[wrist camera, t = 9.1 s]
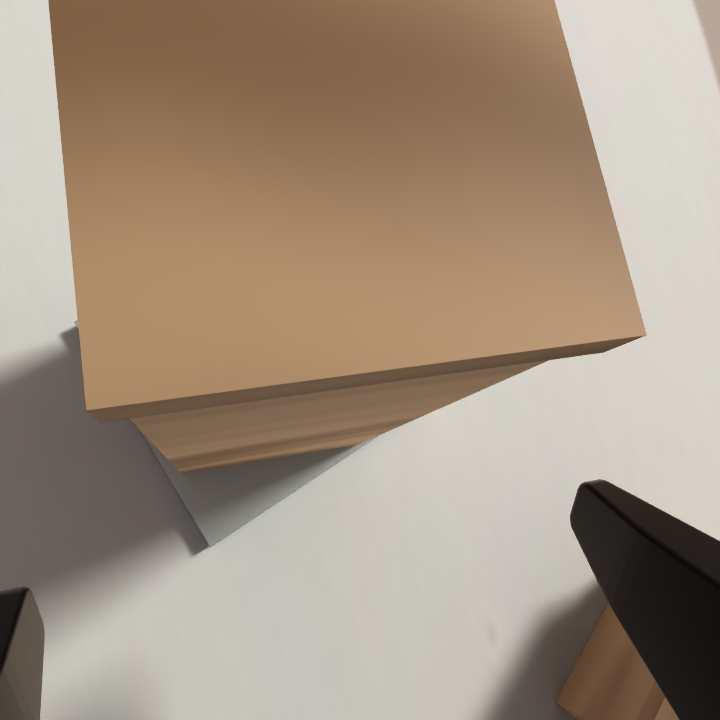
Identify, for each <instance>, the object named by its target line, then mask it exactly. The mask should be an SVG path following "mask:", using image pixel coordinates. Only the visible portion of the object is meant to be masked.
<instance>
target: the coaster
mask: <svg viewBox="0 0 720 720" xmlns="http://www.w3.org/2000/svg"><path fill="white" fill-rule="evenodd" d="M74 323H75V324H76V326H77V328H78V329H79V327H78V320H77V321H75V322H74ZM140 432H141V431H140ZM141 433H142V432H141ZM142 435H143V437H144V438H145V440H146V442H147V443H148V445H149V447H150V448H151V450H152V452H153V453H154V455H155V457H156V458H157V460H158V461H159V463H160V465H161V466H162V468H163V470H164V471H165V473H166V475H167V476H168V478H169V480H170V481H171V483H172V485H173V486H174V488H175V490H176V491H177V493H178V495H179V496H180V498H181V499H182V501H183V503H184V504H185V506H186V508H187V509H188V511H189V513H190V514H191V516H192V518H193V519H194V521H195V523H196V524H197V526H198V528H199V529H200V531H201V533H202V534H203V536H204V538H205V539H206V541H207V542H208V544H209V546H210V547H212V546H213V545H215V544H216V543H218V542H219V541H221V540H222V539H224V538H225V537H227V536H228V535H230V534H231V533H233V532H234V531H236V530H237V529H239V528H240V527H242V526H243V525H245V524H246V523H248V522H249V521H251V520H252V519H254V518H255V517H257V516H258V515H260V514H261V513H263V512H264V511H266V510H267V509H269V508H270V507H272V506H273V505H275V504H276V503H278V502H280V501H281V500H283V499H284V498H286V497H287V496H289V495H290V494H292V493H293V492H295V491H296V490H298V489H299V488H301V487H302V486H304V485H305V484H307V483H308V482H310V481H311V480H313V479H314V478H316V477H317V476H319V475H320V474H322V473H323V472H325V471H326V470H328V469H329V468H331V467H332V466H334V465H335V464H337V463H338V462H340V461H341V460H343V459H344V458H346V457H347V456H349V455H350V454H352V453H353V452H355V451H356V450H358V449H359V448H361V447H362V446H364V445H365V444H367V443H368V442H370V441H371V440H373V439H374V438H376V437H377V436H376V437H374V438H371V439H369V440H367V441H365V442H362V443H360V444H358V445H353V446H347V447H341V448H335V449H329V450H323V451H317V452H311V453H304V454H298V455H292V456H286V457H280V458H274V459H268V460H262V461H256V462H250V463H244V464H238V465H232V466H226V467H220V468H214V469H208V470H202V471H195V472H189V473H183V474H181V473H180V472H179V471H178V469H177V468H176V467H175V466H174V465H173V464H172V463H171V462H170V461H169V460H168V459H167V458H166V457H165V456H164V455H163V454H162V453H161V452H160V451H159V450H158V448H157V447H156V446H155V445H154V444H153V443H152V442H151V441H150V440H149V439H148V438H147V437H146V436H145V435H144V434H143V433H142ZM378 436H379V435H378Z"/></svg>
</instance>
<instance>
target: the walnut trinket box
mask: <svg viewBox="0 0 720 720" xmlns="http://www.w3.org/2000/svg"><path fill="white" fill-rule="evenodd" d="M556 703H557V704H558V705H559V706H561V707H562V708H563V709H564V710H566V711H567V712H568V713H569V714H571V715H572V716H573V717H574V718H576V719H577V720H679V719H678V717H677V716H676V714H675V712H674V711H673V709H672V707H671V706H670V704H669V702H668V701H667V699H666V697H665V696H664V694H663V693H662V691H661V689H660V688H659V686H658V684H657V683H656V681H655V679H654V678H653V676H652V675H651V673H650V671H649V670H648V668H647V666H646V665H645V663H644V661H643V660H642V658H641V657H640V655H639V653H638V652H637V650H636V648H635V647H634V645H633V643H632V642H631V640H630V638H629V637H628V635H627V634H626V632H625V630H624V629H623V627H622V625H621V624H620V622H619V620H618V619H617V617H616V615H615V614H614V612H613V610H612V608H611V607H610V605H609V603H607V605H606V607H605V609H604V611H603V613H602V615H601V617H600V619H599V620H598V622H597V624H596V626H595V628H594V630H593V632H592V634H591V636H590V637H589V639H588V641H587V643H586V645H585V647H584V649H583V651H582V653H581V654H580V656H579V658H578V660H577V662H576V664H575V666H574V668H573V669H572V671H571V673H570V675H569V677H568V679H567V681H566V683H565V685H564V686H563V688H562V690H561V692H560V694H559V696H558V698H557V700H556Z"/></svg>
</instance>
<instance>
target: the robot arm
mask: <svg viewBox="0 0 720 720" xmlns="http://www.w3.org/2000/svg"><path fill="white" fill-rule="evenodd" d="M570 522H571V526H572V529H573V532H574V534H575V536H576V538H577V540H578V542H579V544H580V546H581V548H582V550H583V552H584V554H585V556H586V558H587V561H588V563H589V565H590V567H591V569H592V571H593V573H594V575H595V577H596V579H597V581H598V583H599V585H600V587H601V589H602V592H603V594H604V595H605V597H606V599H607V601H608V603H609V605H610V607H611V608H612V610H613V612H614V614H615V615H616V617H617V619H618V620H619V622H620V624H621V625H622V627H623V629H624V630H625V632H626V634H627V635H628V637H629V638H630V640H631V642H632V643H633V645H634V647H635V648H636V650H637V652H638V653H639V655H640V657H641V658H642V660H643V661H644V663H645V665H646V666H647V668H648V670H649V671H650V673H651V675H652V676H653V678H654V679H655V681H656V683H657V684H658V686H659V688H660V689H661V691H662V693H663V694H664V696H665V697H666V699H667V701H668V702H669V704H670V706H671V707H672V709H673V711H674V712H675V714H676V716H677V717H678V719H679V720H720V541H718V540H717V539H715V538H713V537H711V536H709V535H707V534H705V533H703V532H702V531H700V530H698V529H696V528H694V527H692V526H690V525H688V524H687V523H685V522H683V521H681V520H679V519H677V518H675V517H673V516H671V515H670V514H668V513H666V512H664V511H662V510H660V509H658V508H656V507H655V506H653V505H651V504H649V503H647V502H645V501H643V500H641V499H640V498H638V497H636V496H634V495H632V494H630V493H628V492H626V491H624V490H623V489H621V488H619V487H617V486H615V485H613V484H611V483H609V482H607V481H605V480H594V481H588V482H584V483H582V484H581V485H580V486H579V488H578V490H577V494H576V497H575V500H574V504H573V507H572V510H571V514H570ZM43 655H44V625H43V621H42V618H41V616H40V613H39V610H38V607H37V604H36V602H35V599H34V596H33V593H32V591H31V590H30V589H29V588H27V587H21V588H15V589H10V590H5V591H0V720H40V707H41V689H42V672H43Z"/></svg>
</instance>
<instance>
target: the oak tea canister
mask: <svg viewBox="0 0 720 720" xmlns="http://www.w3.org/2000/svg"><path fill="white" fill-rule="evenodd" d="M49 11H50V22H51V33H52V44H53V55H54V66H55V77H56V87H57V98H58V109H59V120H60V131H61V142H62V153H63V164H64V175H65V186H66V196H67V207H68V218H69V229H70V240H71V251H72V262H73V273H74V284H75V295H76V306H77V316H78V327H79V338H80V349H81V360H82V371H83V382H84V393H85V404H86V411H88V412H89V413H90V414H92V415H93V416H94V417H95V418H97V419H98V420H99V421H101V422H109V421H117V420H124V419H130V420H131V421H132V422H133V423H134V424H135V425H136V426H137V427H138V429H139V430H140V431H141V432H142V433H143V434H144V435H145V436H146V437H147V438H148V439H149V440H150V441H151V442H152V443H153V444H154V445H155V446H156V447H157V448H158V450H159V451H160V452H161V453H162V454H163V455H164V456H165V457H166V458H167V459H168V460H169V461H170V462H171V463H172V464H173V465H174V466H175V467H176V468H177V469H178V471H179V472H180V473H181V474H183V473H189V472H195V471H202V470H208V469H214V468H220V467H226V466H232V465H238V464H244V463H250V462H256V461H262V460H268V459H274V458H280V457H286V456H292V455H298V454H304V453H311V452H317V451H323V450H329V449H335V448H341V447H347V446H353V445H358V444H360V443H362V442H365V441H367V440H369V439H371V438H374V437H376V436H378V435H380V434H383V433H385V432H387V431H390V430H392V429H394V428H396V427H399V426H401V425H403V424H405V423H408V422H410V421H412V420H414V419H417V418H419V417H421V416H424V415H426V414H428V413H430V412H433V411H435V410H437V409H439V408H442V407H444V406H446V405H449V404H451V403H453V402H455V401H458V400H460V399H462V398H464V397H467V396H469V395H471V394H473V393H476V392H478V391H480V390H483V389H485V388H487V387H489V386H492V385H494V384H496V383H498V382H501V381H503V380H505V379H507V378H510V377H512V376H514V375H517V374H519V373H521V372H523V371H526V370H528V369H530V368H532V367H535V366H537V365H539V364H541V363H544V362H546V361H548V360H553V359H560V358H567V357H574V356H581V355H588V354H596V353H603V352H606V351H608V350H611V349H613V348H616V347H618V346H621V345H623V344H626V343H628V342H631V341H633V340H636V339H638V338H641V337H643V336H646V331H645V328H644V324H643V320H642V317H641V313H640V309H639V306H638V302H637V299H636V295H635V291H634V288H633V284H632V280H631V277H630V273H629V270H628V266H627V262H626V259H625V255H624V251H623V248H622V244H621V241H620V237H619V233H618V230H617V226H616V222H615V219H614V215H613V212H612V208H611V204H610V201H609V197H608V193H607V190H606V186H605V183H604V179H603V175H602V172H601V168H600V164H599V161H598V157H597V154H596V150H595V146H594V143H593V139H592V135H591V132H590V128H589V125H588V121H587V117H586V114H585V110H584V106H583V103H582V99H581V96H580V92H579V88H578V85H577V81H576V77H575V74H574V70H573V67H572V63H571V59H570V56H569V52H568V48H567V45H566V41H565V38H564V34H563V30H562V27H561V23H560V19H559V16H558V12H557V9H556V5H555V1H554V0H49Z"/></svg>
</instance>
